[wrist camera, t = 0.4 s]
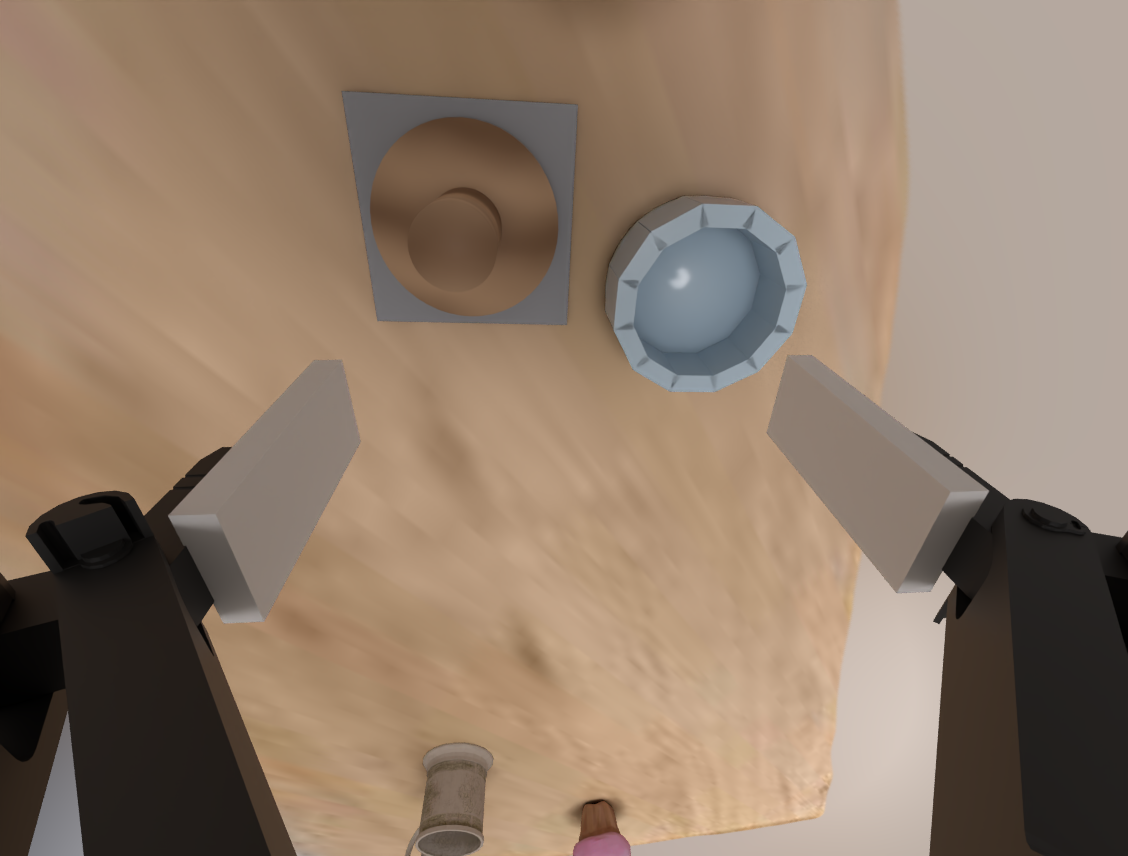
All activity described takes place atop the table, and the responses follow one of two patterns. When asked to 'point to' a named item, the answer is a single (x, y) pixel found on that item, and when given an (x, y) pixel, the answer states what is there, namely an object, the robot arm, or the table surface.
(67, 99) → the table surface
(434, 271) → the lid
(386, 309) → the mat
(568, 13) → the table surface
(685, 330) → the bowl
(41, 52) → the table surface
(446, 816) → the mug
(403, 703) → the table surface
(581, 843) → the cupcake
